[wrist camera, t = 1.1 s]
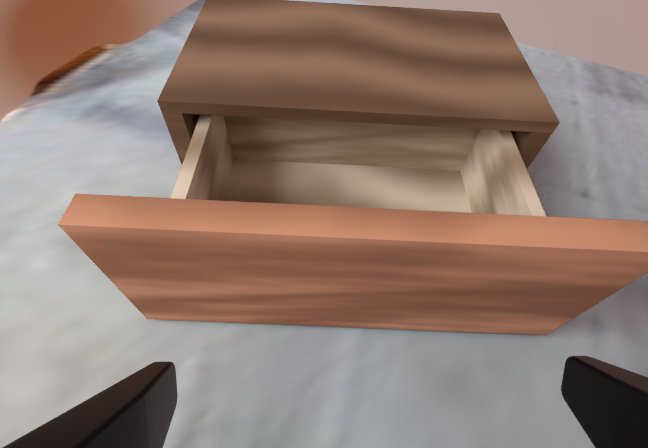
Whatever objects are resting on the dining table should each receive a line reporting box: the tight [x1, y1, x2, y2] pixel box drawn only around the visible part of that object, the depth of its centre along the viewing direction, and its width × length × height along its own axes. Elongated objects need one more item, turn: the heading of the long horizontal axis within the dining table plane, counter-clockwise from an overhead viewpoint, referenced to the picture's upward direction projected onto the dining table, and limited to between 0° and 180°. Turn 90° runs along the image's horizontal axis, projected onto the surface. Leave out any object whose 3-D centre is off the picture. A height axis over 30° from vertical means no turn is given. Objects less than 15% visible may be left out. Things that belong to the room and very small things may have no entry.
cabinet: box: [158, 0, 560, 169], centre depth 29 cm, size 14×24×9 cm, turn 89°
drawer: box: [58, 114, 648, 335], centre depth 23 cm, size 14×25×10 cm, turn 89°
